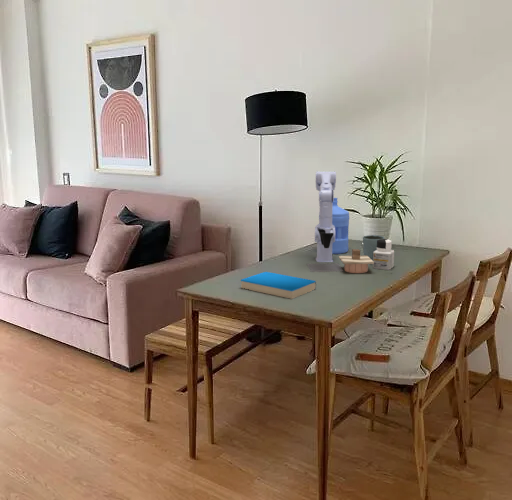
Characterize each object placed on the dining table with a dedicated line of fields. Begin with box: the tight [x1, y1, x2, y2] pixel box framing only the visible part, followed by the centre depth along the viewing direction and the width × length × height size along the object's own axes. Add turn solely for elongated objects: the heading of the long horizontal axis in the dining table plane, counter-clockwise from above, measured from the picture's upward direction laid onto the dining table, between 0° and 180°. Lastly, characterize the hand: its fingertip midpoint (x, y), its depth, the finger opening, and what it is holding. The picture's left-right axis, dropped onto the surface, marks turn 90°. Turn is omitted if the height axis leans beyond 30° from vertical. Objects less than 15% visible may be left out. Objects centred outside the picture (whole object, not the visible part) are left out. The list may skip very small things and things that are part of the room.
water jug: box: [318, 197, 350, 255], centre depth 277 cm, size 16×16×28 cm
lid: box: [338, 248, 374, 265], centre depth 235 cm, size 13×13×5 cm
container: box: [372, 238, 395, 271], centre depth 243 cm, size 8×8×13 cm
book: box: [240, 271, 317, 300], centre depth 211 cm, size 17×4×25 cm
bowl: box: [343, 264, 369, 274], centre depth 236 cm, size 10×10×5 cm
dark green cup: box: [362, 234, 385, 261], centre depth 254 cm, size 10×10×12 cm
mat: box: [306, 262, 345, 273], centre depth 242 cm, size 15×15×1 cm
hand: (325, 246), depth 240 cm, fingers open, 7 cm apart
